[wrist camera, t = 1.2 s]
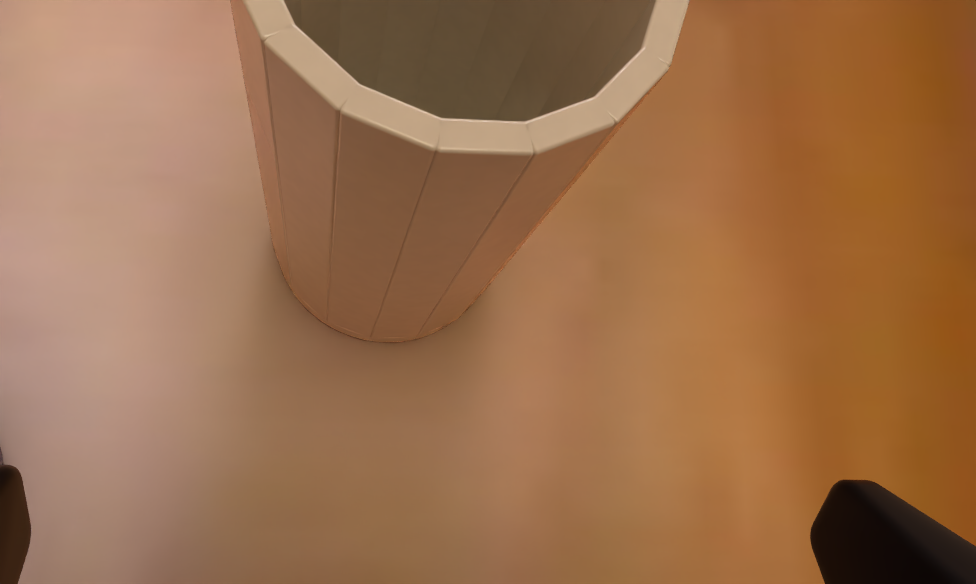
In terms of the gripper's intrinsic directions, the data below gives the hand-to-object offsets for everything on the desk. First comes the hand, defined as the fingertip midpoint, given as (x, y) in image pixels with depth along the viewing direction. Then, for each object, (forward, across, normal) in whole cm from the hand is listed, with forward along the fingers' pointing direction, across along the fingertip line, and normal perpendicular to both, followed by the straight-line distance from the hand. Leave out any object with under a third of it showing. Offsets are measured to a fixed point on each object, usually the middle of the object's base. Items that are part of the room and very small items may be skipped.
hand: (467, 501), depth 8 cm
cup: (+15, 0, +4) cm, 15 cm away
